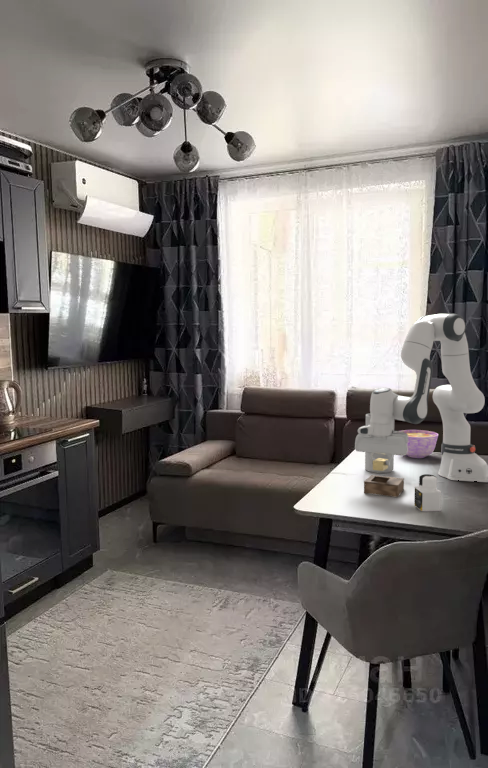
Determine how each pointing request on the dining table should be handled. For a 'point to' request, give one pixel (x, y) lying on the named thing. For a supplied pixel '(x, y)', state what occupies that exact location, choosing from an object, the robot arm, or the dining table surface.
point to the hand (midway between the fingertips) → (380, 464)
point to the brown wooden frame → (384, 485)
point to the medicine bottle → (427, 494)
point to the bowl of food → (420, 443)
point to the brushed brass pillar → (379, 464)
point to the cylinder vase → (377, 455)
